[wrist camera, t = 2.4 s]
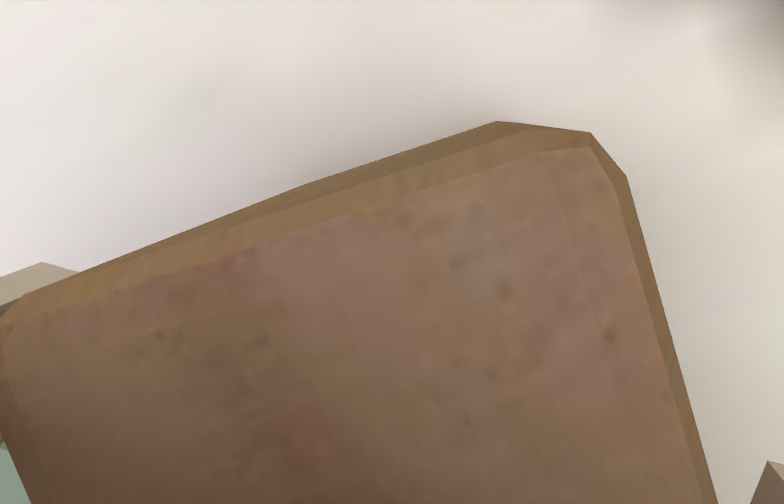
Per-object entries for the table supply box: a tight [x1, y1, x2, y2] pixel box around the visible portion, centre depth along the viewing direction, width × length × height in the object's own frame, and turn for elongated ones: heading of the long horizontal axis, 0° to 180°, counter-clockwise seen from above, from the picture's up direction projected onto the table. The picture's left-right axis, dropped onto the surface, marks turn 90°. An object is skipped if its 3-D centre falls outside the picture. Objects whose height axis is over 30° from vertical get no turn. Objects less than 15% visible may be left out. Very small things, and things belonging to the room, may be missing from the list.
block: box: [0, 121, 718, 504], centre depth 20 cm, size 10×10×20 cm
